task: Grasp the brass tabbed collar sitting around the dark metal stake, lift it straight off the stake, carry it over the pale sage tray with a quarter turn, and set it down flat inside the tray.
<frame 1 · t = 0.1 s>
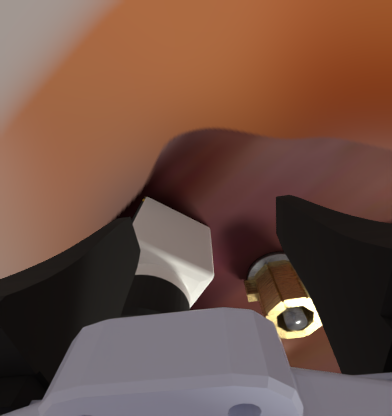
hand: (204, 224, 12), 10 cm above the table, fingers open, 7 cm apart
medicine bottle: (163, 237, 24), on the table
collar: (277, 279, 25), point 1 cm above the table, touching stake
stake: (276, 275, 26), on the table
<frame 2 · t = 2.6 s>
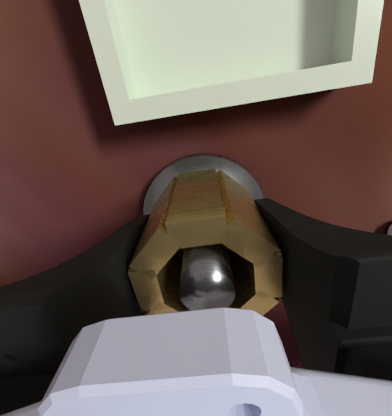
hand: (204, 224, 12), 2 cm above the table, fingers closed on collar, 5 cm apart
collar: (203, 216, 12), point 1 cm above the table, touching gripper, stake
stake: (203, 211, 13), on the table
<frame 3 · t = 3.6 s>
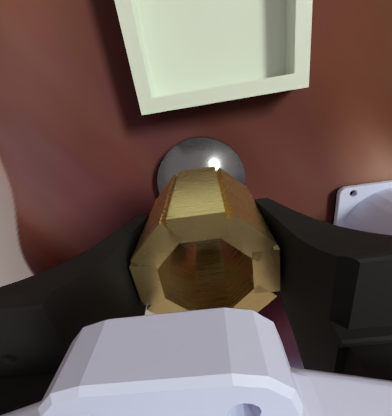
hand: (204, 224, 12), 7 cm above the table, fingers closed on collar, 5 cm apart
tray: (210, 8, 13), on the table
collar: (203, 213, 13), point 6 cm above the table, touching gripper
stake: (201, 180, 18), on the table
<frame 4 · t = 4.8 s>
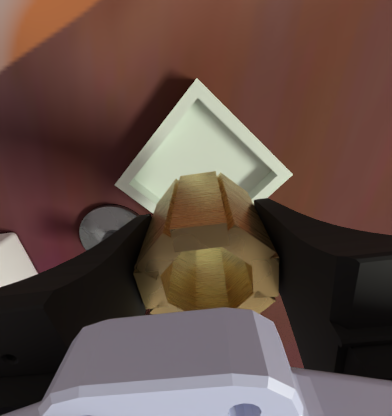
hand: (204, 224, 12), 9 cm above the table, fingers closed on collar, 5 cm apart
tray: (202, 172, 20), on the table
medicine bottle: (1, 263, 24), on the table
collar: (204, 216, 13), point 8 cm above the table, touching gripper
stake: (116, 234, 22), on the table
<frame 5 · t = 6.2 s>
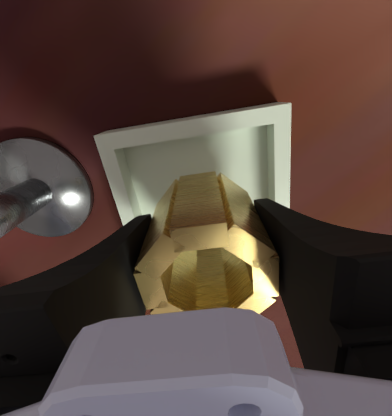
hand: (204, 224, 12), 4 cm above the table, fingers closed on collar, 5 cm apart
tray: (202, 195, 15), on the table
collar: (204, 216, 13), point 3 cm above the table, touching gripper
stake: (42, 188, 15), on the table
when the fingers open (3 cm above the table, at t = 7.3 s): collar drops 1 cm, resting on tray.
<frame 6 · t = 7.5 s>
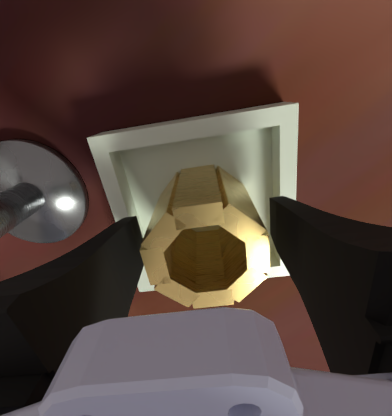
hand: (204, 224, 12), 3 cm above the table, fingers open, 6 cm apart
tray: (203, 200, 14), on the table
collar: (203, 207, 14), point 1 cm above the table, touching tray
stake: (35, 193, 14), on the table
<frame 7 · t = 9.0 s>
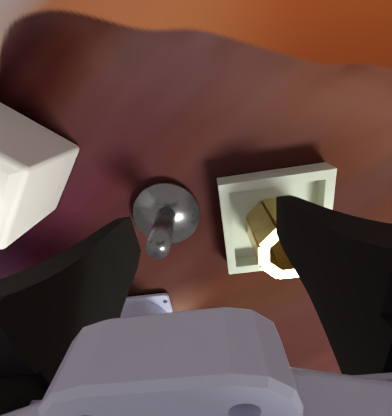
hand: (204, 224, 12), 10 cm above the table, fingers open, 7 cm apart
tray: (270, 217, 23), on the table
medicine bottle: (31, 159, 21), on the table
collar: (272, 221, 23), point 1 cm above the table, touching tray
stake: (167, 212, 23), on the table
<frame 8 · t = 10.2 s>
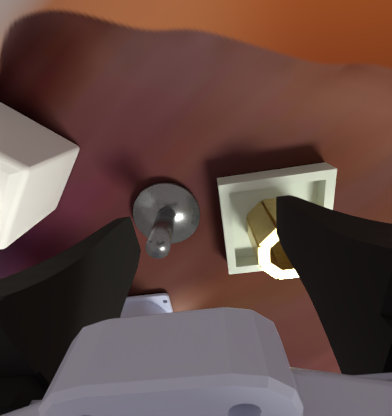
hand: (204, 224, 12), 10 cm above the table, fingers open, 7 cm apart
tray: (270, 217, 23), on the table
medicine bottle: (31, 159, 21), on the table
collar: (272, 221, 23), point 1 cm above the table, touching tray
stake: (167, 212, 23), on the table
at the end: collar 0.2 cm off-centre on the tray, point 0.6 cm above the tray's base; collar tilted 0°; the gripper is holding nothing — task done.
